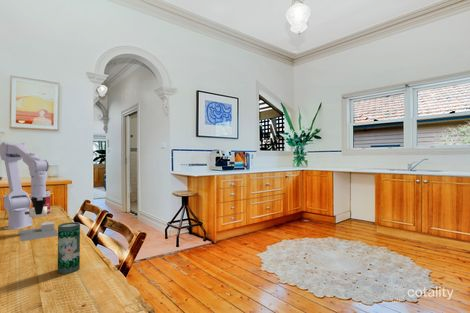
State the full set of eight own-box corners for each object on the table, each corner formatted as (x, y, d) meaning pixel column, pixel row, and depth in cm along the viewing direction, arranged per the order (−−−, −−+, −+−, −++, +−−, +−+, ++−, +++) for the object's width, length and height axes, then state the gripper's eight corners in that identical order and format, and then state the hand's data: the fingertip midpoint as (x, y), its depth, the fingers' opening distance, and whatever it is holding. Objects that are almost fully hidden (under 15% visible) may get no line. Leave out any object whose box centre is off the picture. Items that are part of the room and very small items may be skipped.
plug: (25, 218, 124) (25, 209, 124) (24, 216, 127) (24, 208, 127) (52, 215, 131) (52, 207, 131) (50, 213, 134) (51, 205, 134)
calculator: (38, 216, 162) (38, 191, 162) (31, 216, 162) (31, 191, 162) (51, 212, 173) (51, 189, 173) (44, 212, 173) (44, 189, 173)
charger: (40, 229, 134) (40, 223, 134) (52, 227, 137) (52, 221, 137) (41, 231, 130) (41, 225, 130) (54, 229, 134) (54, 223, 134)
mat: (18, 231, 130) (18, 231, 130) (53, 227, 140) (53, 226, 140) (20, 242, 115) (20, 241, 115) (59, 236, 125) (59, 235, 125)
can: (56, 275, 85) (57, 227, 85) (59, 268, 90) (59, 223, 90) (79, 271, 87) (79, 225, 87) (80, 264, 93) (80, 221, 93)
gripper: (50, 186, 126) (50, 214, 126) (46, 183, 137) (46, 209, 137) (31, 187, 122) (31, 217, 122) (29, 184, 132) (29, 211, 133)
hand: (38, 213), depth 129 cm, fingers closed on plug, 4 cm apart
